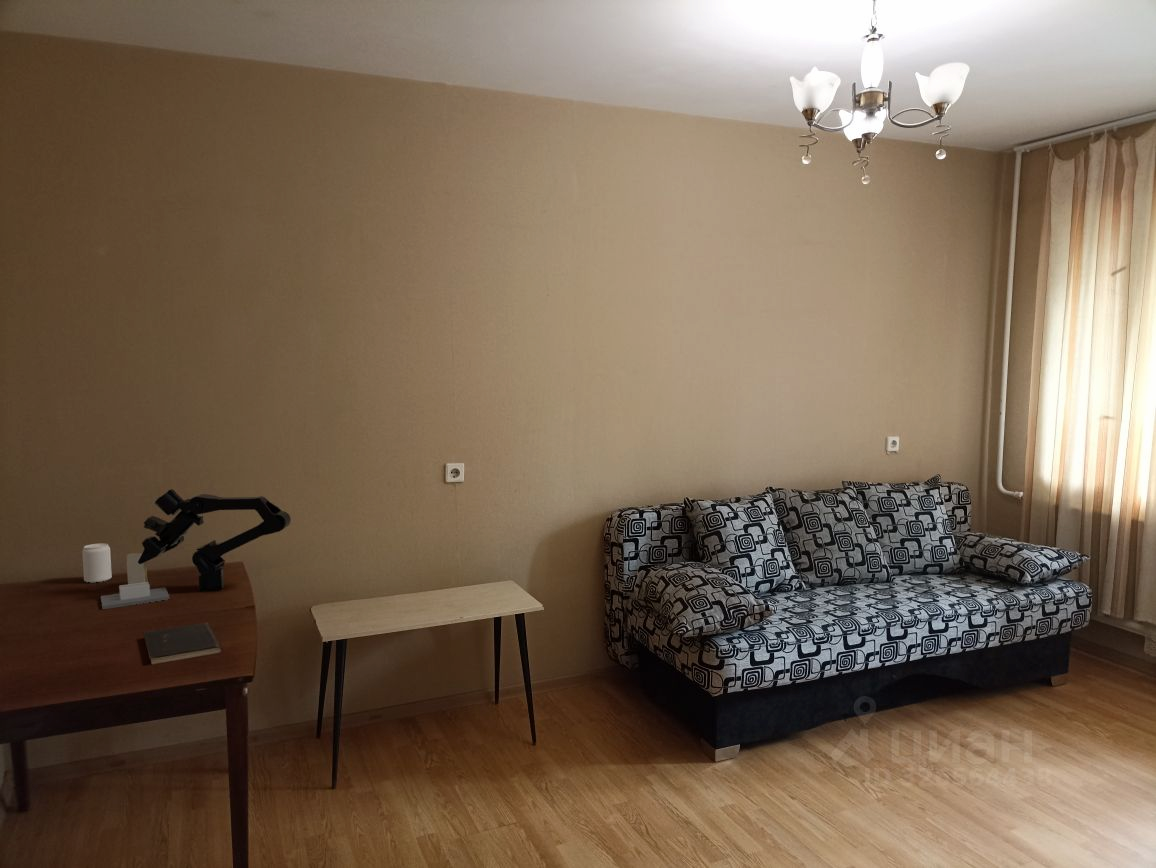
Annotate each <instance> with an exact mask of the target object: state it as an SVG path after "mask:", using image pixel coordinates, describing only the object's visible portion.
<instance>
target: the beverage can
mask: <svg viewBox="0 0 1156 868" xmlns="http://www.w3.org/2000/svg"><path fill="white" fill-rule="evenodd" d="M81 553H82V567H83V568H82V569H83V581H84V582H86V583H88V582H90V583H89V584H97V583H96V582H99V583H103V581H104V582H107V581H108V580H111V578H112V576H113V574H112V562H111V560H112V558H111V557H112V556H111V546H109V543H102V542H101V543H93V544H86V545H84V546H83V549H82V552H81Z"/></svg>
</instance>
